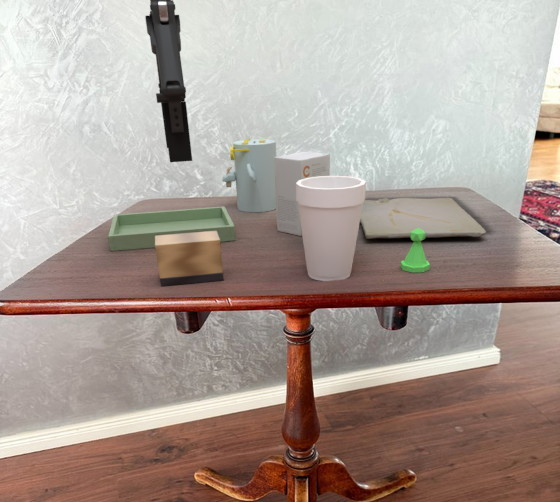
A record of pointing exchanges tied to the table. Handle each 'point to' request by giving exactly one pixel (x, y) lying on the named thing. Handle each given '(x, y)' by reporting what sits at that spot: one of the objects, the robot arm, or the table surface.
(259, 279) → the table surface
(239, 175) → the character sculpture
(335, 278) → the foam cup
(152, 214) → the tray
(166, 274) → the eraser
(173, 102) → the robot arm
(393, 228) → the decorative slab
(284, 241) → the table surface
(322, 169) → the small box
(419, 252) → the game piece
